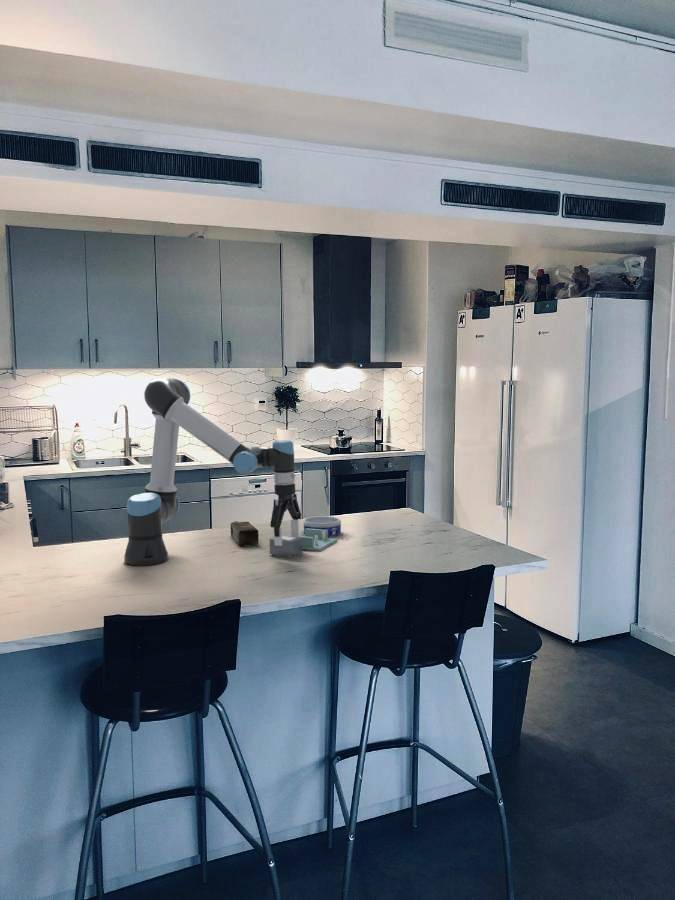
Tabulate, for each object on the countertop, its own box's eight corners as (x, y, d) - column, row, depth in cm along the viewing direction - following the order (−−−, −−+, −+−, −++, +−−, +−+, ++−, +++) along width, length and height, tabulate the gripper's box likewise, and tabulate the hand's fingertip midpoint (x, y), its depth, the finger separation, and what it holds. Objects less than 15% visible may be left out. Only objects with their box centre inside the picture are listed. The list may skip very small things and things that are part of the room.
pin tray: (281, 547, 274) (281, 536, 274) (299, 538, 289) (299, 527, 288) (320, 551, 268) (320, 539, 268) (336, 541, 283) (336, 530, 282)
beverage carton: (249, 535, 297) (249, 519, 296) (259, 545, 279) (259, 528, 278) (230, 536, 295) (229, 520, 294) (239, 547, 276) (238, 530, 276)
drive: (269, 555, 264) (269, 538, 263) (278, 551, 270) (278, 534, 269) (294, 557, 259) (293, 541, 259) (302, 553, 265) (302, 537, 265)
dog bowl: (323, 528, 308) (323, 514, 307) (348, 533, 297) (348, 519, 296) (296, 534, 298) (295, 519, 297) (320, 540, 286) (320, 525, 286)
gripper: (278, 489, 249) (280, 549, 251) (308, 478, 272) (310, 534, 274) (258, 488, 252) (261, 548, 254) (290, 478, 275) (292, 533, 277)
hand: (287, 541), depth 264 cm, fingers open, 13 cm apart
